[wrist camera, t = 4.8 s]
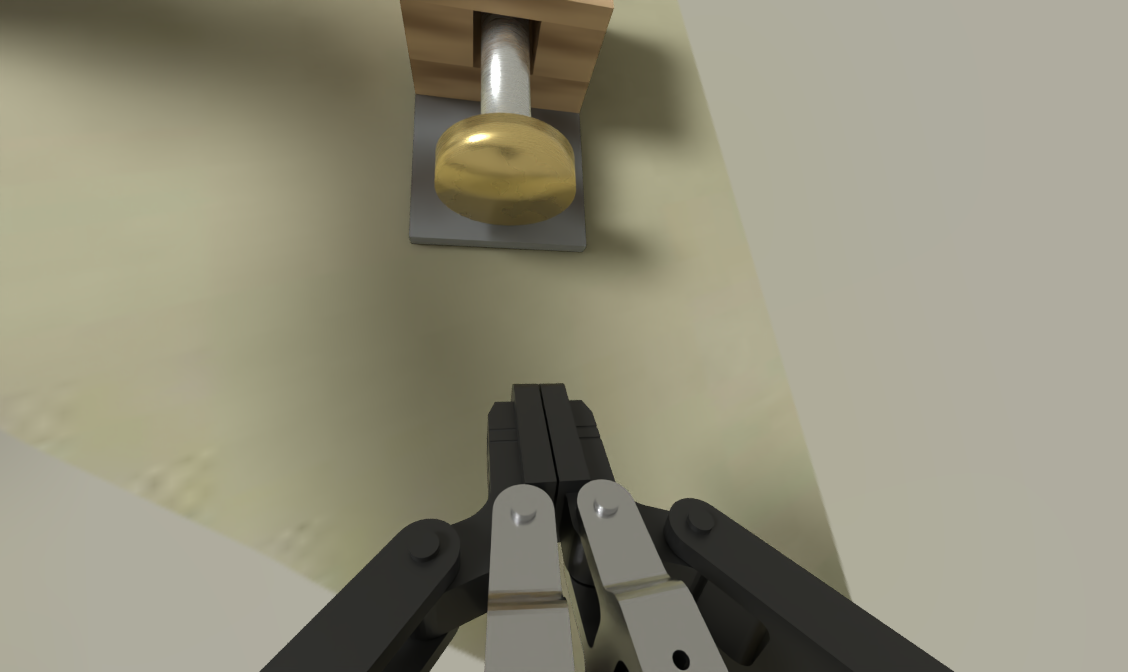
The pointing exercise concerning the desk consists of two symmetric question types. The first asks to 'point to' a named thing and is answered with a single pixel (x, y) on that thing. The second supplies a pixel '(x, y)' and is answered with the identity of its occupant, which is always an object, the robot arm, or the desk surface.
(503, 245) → the bearing block
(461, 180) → the shaft
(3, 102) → the desk surface
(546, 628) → the robot arm
